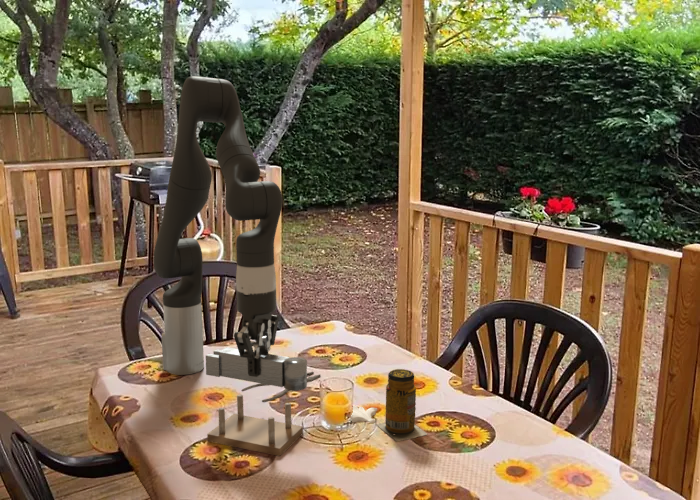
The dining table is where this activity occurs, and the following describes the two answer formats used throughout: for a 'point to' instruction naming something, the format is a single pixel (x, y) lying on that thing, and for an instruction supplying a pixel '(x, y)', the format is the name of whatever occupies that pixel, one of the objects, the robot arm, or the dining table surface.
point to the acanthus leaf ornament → (363, 414)
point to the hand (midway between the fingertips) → (258, 372)
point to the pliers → (285, 389)
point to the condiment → (401, 406)
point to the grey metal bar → (271, 368)
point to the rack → (255, 431)
